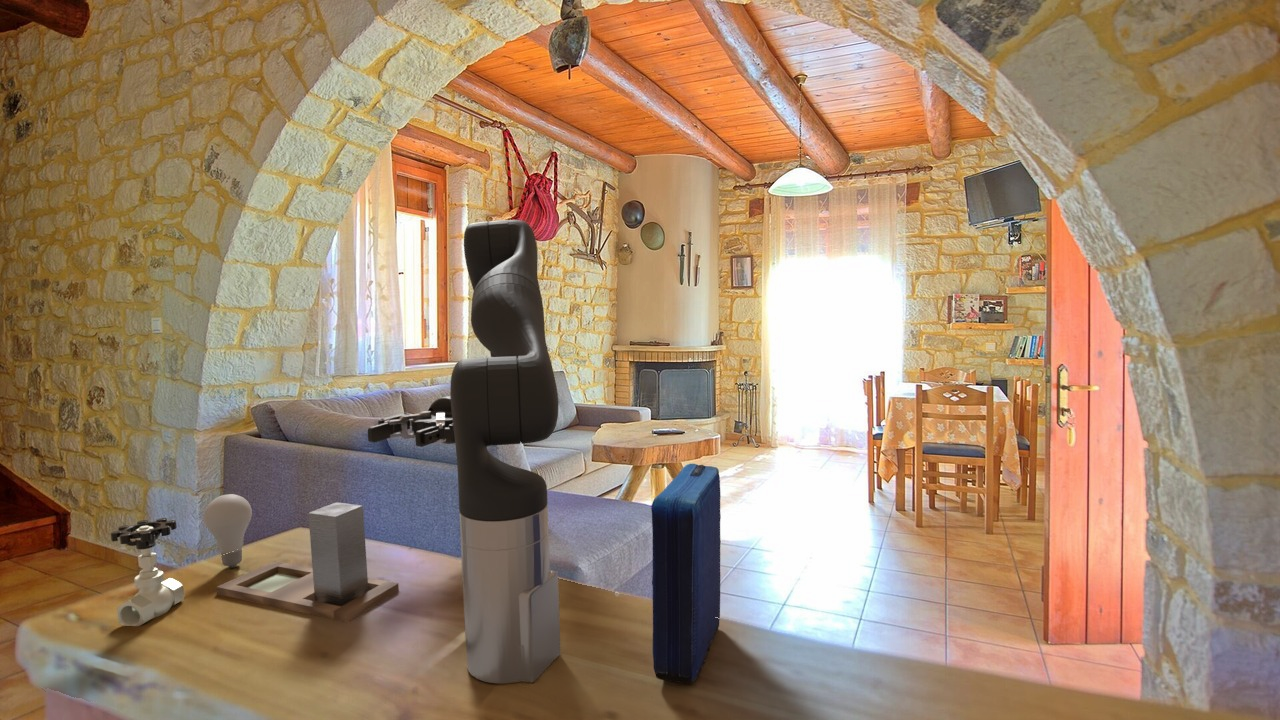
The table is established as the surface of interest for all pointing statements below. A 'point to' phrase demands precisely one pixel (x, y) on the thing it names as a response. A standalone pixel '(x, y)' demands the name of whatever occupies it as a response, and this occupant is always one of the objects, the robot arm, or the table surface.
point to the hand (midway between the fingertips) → (393, 437)
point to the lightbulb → (228, 525)
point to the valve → (148, 574)
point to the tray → (300, 591)
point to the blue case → (686, 572)
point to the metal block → (338, 553)
